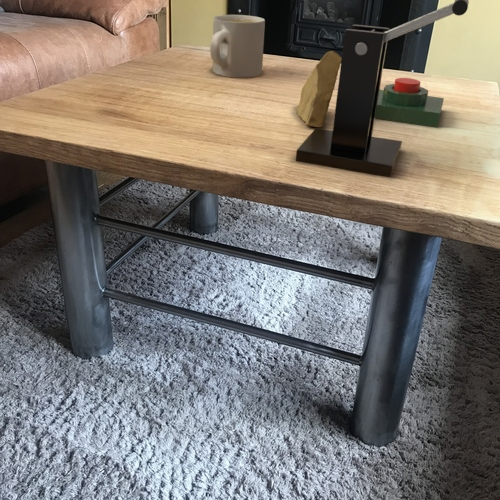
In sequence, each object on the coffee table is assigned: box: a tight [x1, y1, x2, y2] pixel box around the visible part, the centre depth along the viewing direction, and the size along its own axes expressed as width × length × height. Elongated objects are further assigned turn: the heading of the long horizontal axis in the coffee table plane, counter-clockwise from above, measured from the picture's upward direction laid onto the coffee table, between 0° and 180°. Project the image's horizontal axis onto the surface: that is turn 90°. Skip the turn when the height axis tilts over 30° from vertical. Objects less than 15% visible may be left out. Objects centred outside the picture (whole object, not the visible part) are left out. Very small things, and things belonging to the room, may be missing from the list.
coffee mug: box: [209, 14, 266, 79], centre depth 109 cm, size 13×10×10 cm
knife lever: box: [372, 0, 470, 43], centre depth 64 cm, size 13×5×2 cm, turn 70°
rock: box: [295, 50, 342, 129], centre depth 86 cm, size 11×9×10 cm
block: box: [375, 83, 445, 128], centre depth 91 cm, size 12×10×4 cm
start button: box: [393, 77, 421, 93], centre depth 90 cm, size 4×4×2 cm
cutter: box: [295, 24, 403, 178], centre depth 70 cm, size 12×10×16 cm
